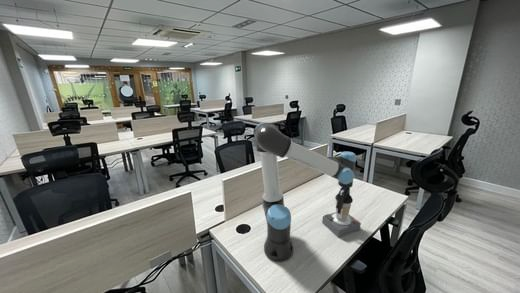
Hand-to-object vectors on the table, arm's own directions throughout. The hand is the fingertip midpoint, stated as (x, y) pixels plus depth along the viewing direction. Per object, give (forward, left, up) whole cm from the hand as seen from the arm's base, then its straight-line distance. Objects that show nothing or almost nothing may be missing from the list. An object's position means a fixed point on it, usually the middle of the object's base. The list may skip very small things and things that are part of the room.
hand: (341, 212), depth 121 cm
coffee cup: (0, 0, -4) cm, 4 cm away
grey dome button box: (0, 0, -9) cm, 9 cm away
